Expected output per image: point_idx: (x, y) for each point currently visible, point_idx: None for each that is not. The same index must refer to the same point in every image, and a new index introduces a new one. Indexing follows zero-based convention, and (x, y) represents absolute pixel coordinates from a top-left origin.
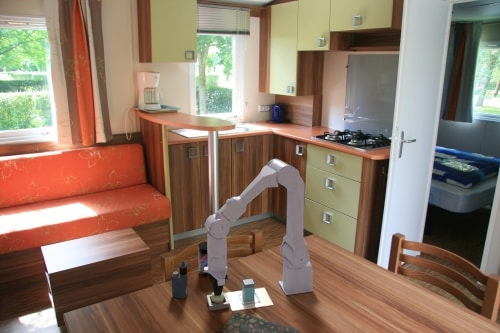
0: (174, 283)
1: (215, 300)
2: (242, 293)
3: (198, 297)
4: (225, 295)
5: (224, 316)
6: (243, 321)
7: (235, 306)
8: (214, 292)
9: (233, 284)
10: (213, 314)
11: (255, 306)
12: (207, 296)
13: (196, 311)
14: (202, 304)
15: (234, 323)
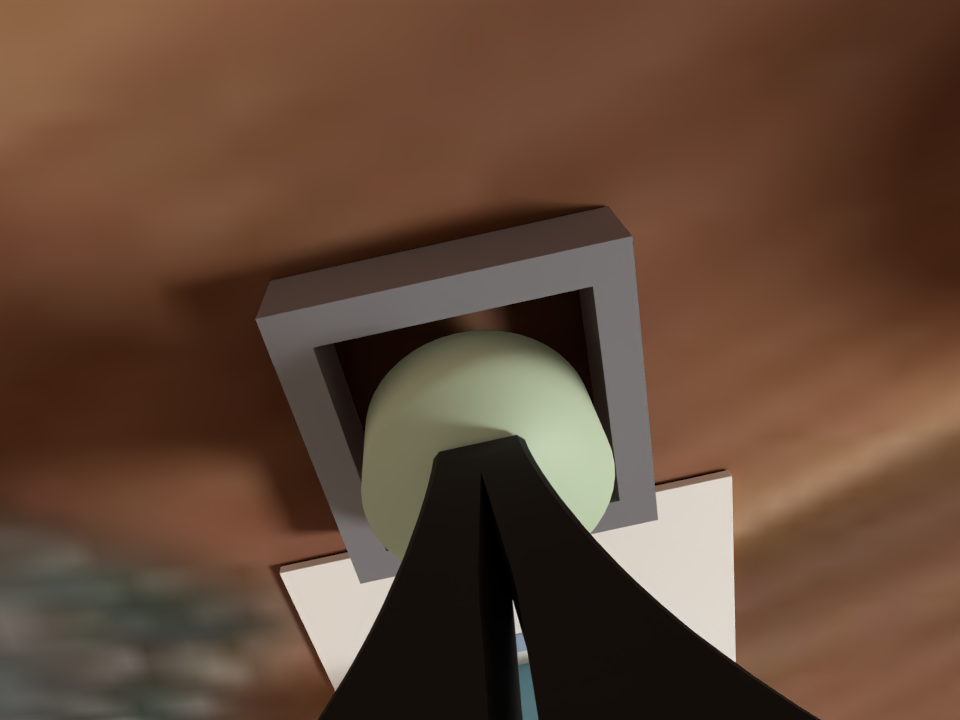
0: None
1: (369, 431)
2: None
3: (706, 31)
4: None
5: (143, 489)
6: (80, 678)
7: (380, 598)
8: (423, 508)
9: (922, 538)
10: (166, 343)
11: None
12: (588, 251)
13: (214, 28)
14: (457, 134)
15: (9, 603)
